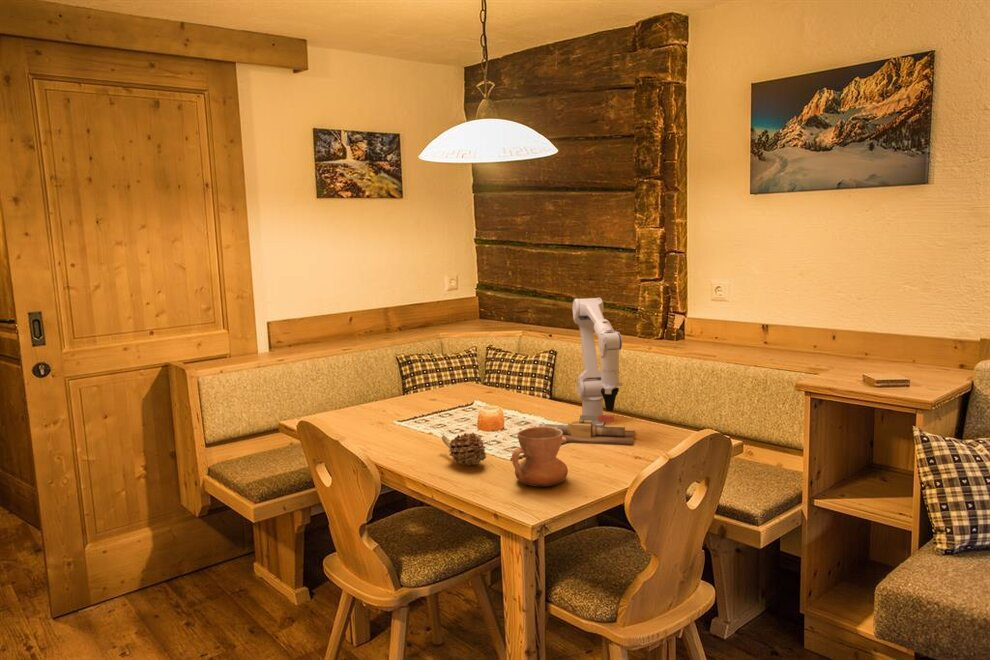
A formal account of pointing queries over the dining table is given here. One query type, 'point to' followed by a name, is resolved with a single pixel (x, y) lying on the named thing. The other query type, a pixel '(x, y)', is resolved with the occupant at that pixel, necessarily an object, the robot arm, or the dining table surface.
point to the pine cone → (466, 449)
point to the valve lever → (597, 418)
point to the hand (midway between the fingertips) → (609, 410)
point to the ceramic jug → (539, 457)
